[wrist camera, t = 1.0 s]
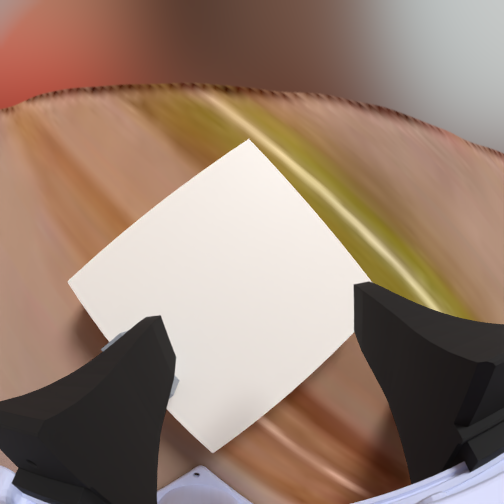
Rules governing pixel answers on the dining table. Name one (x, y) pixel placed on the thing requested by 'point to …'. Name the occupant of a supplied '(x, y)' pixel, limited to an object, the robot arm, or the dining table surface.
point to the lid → (229, 291)
